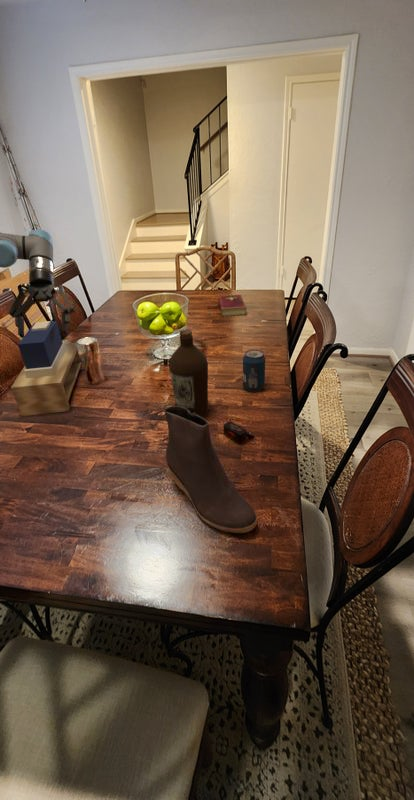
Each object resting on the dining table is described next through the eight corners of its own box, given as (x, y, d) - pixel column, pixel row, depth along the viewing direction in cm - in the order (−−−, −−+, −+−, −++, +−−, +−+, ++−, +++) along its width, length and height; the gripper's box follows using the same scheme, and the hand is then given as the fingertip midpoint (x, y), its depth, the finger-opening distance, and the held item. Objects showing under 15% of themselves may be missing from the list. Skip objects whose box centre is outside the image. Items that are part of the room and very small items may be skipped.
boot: (237, 550, 69) (236, 469, 58) (157, 486, 84) (145, 413, 73) (266, 522, 74) (270, 443, 63) (186, 467, 89) (178, 395, 78)
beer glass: (91, 387, 124) (80, 346, 116) (82, 380, 129) (72, 340, 121) (109, 380, 128) (101, 340, 120) (100, 374, 133) (92, 334, 125)
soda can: (258, 380, 123) (258, 347, 117) (268, 389, 118) (269, 355, 111) (239, 384, 121) (239, 351, 115) (248, 394, 116) (249, 360, 109)
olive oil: (186, 398, 115) (179, 322, 102) (216, 406, 111) (213, 327, 98) (167, 416, 108) (157, 335, 94) (199, 425, 103) (192, 342, 90)
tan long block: (21, 416, 112) (10, 387, 106) (45, 371, 137) (37, 346, 132) (69, 411, 113) (60, 382, 108) (83, 367, 138) (77, 342, 133)
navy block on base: (53, 375, 112) (43, 340, 106) (26, 378, 111) (14, 343, 105) (67, 346, 130) (59, 315, 124) (44, 348, 129) (34, 317, 123)
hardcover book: (221, 316, 178) (221, 308, 176) (218, 303, 196) (218, 295, 194) (246, 315, 178) (246, 306, 176) (241, 301, 196) (241, 294, 194)
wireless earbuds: (242, 446, 94) (242, 436, 93) (222, 435, 99) (222, 425, 97) (254, 438, 97) (254, 428, 95) (234, 427, 101) (234, 417, 100)
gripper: (-3, 271, 119) (-4, 333, 114) (76, 265, 121) (79, 325, 116) (8, 284, 126) (8, 342, 121) (82, 278, 128) (85, 335, 123)
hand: (43, 334), depth 118 cm, fingers open, 13 cm apart
